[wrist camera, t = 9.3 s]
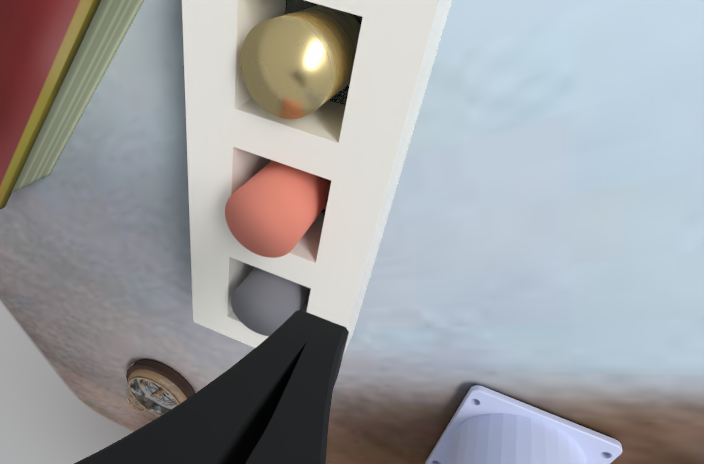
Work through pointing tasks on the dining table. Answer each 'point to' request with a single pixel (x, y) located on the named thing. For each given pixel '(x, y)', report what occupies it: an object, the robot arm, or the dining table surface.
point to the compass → (156, 387)
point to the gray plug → (267, 301)
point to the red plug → (276, 208)
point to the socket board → (301, 151)
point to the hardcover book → (50, 77)
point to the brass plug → (299, 60)
